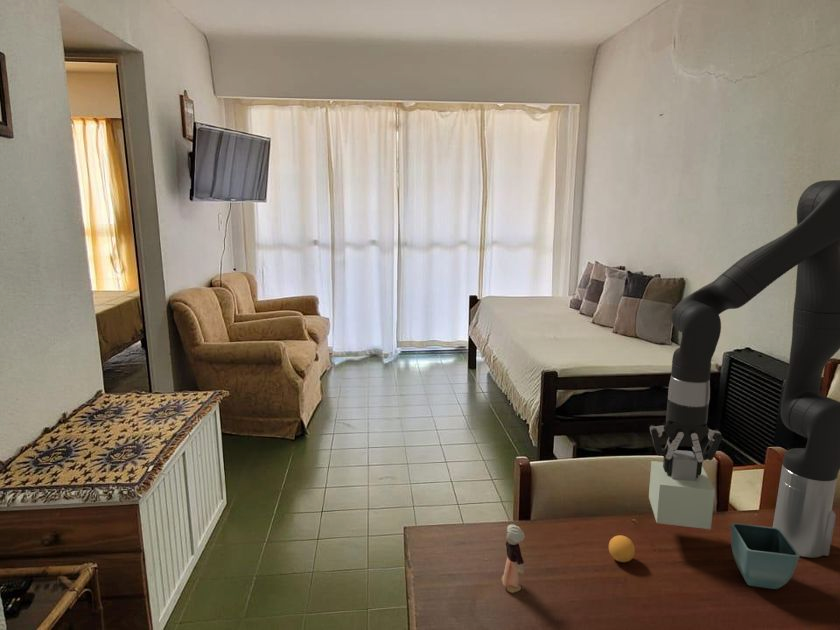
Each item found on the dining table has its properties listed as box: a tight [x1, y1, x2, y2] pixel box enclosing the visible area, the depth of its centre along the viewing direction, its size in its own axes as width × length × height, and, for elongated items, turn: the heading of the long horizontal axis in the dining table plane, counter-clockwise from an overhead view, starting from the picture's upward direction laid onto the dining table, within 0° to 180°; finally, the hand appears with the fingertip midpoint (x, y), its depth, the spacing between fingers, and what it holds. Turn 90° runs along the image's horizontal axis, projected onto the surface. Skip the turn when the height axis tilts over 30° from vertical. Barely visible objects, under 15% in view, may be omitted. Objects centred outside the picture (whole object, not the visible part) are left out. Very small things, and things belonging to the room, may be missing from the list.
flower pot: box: [730, 522, 801, 590], centre depth 102 cm, size 9×9×9 cm
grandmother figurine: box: [500, 524, 525, 594], centre depth 100 cm, size 8×4×13 cm, turn 23°
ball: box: [608, 534, 636, 563], centre depth 108 cm, size 5×5×5 cm
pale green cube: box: [648, 449, 716, 530], centre depth 113 cm, size 10×10×13 cm
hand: (681, 474), depth 112 cm, fingers closed on pale green cube, 4 cm apart
